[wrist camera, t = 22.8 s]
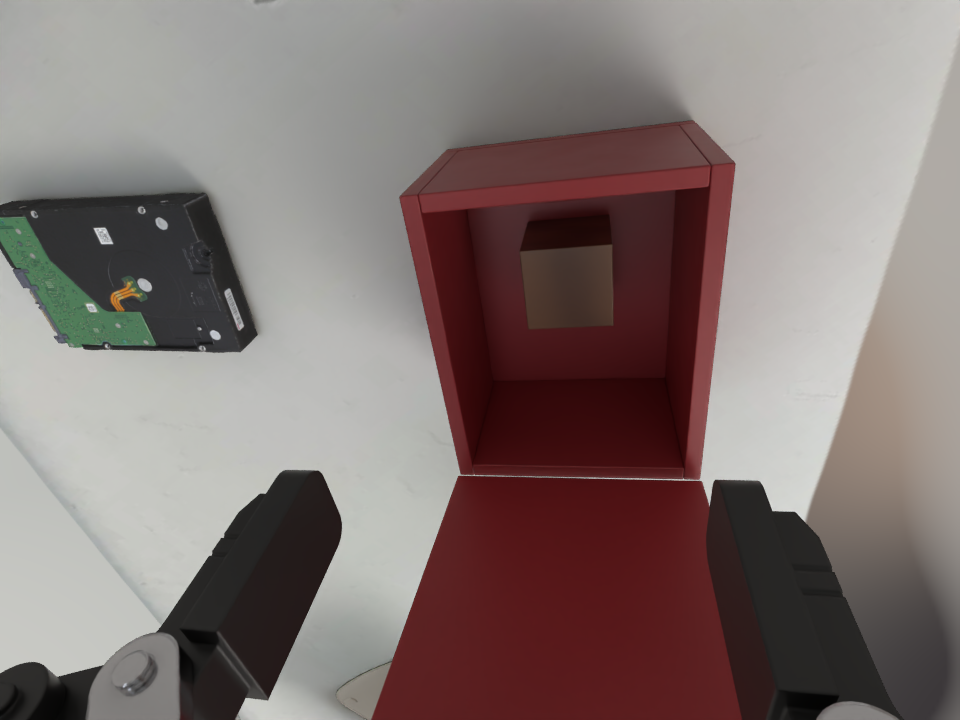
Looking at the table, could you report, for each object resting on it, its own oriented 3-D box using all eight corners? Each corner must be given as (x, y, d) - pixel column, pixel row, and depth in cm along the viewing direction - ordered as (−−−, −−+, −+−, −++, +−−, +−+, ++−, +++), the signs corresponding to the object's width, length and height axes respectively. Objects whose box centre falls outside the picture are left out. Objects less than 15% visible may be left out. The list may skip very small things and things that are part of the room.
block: (534, 293, 31) (527, 330, 28) (527, 221, 29) (519, 251, 25) (610, 288, 30) (613, 326, 27) (609, 213, 28) (612, 244, 24)
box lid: (324, 846, 14) (362, 930, 16) (843, 945, 12) (811, 1031, 14) (457, 475, 29) (469, 544, 31) (702, 480, 26) (696, 555, 28)
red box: (446, 149, 28) (398, 196, 21) (694, 119, 26) (736, 162, 18) (485, 383, 37) (460, 475, 29) (675, 380, 34) (700, 480, 27)
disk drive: (210, 186, 32) (11, 199, 35) (181, 199, 30) (-29, 212, 32) (264, 332, 38) (89, 334, 40) (243, 353, 35) (59, 353, 38)
